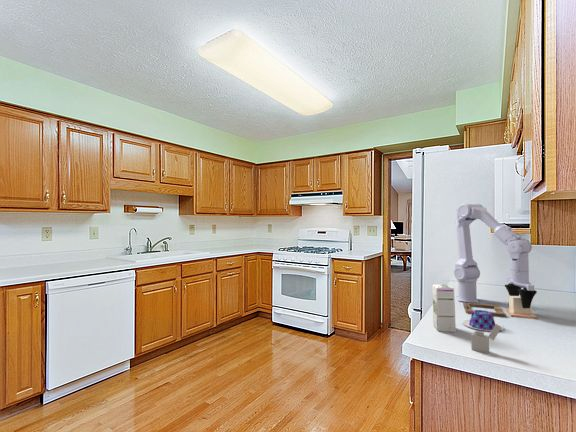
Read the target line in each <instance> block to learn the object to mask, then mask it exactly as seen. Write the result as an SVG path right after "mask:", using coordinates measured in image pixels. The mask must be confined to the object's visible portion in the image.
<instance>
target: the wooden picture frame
mask: <svg viewBox="0 0 576 432" xmlns="http://www.w3.org/2000/svg"><path fill="white" fill-rule="evenodd" d="M462 306H463V309H464V311H465V314H467V313H468V314H470V315H472V312H473V311H474V309H473V310H472V307H473V308H484V309H493V310H494V311H490V312H491V313H492V315H493V317H496V318H497V317H499V318H500V317H501V318H506V317H507V314H506V313H505V312H504V310H503V309H502V308H501V307H500V305H497V304H488V303H487V304H485V303H473V302H462ZM468 314H467V315H468Z"/></svg>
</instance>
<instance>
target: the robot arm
mask: <svg viewBox="0 0 576 432" xmlns="http://www.w3.org/2000/svg"><path fill="white" fill-rule="evenodd" d="M455 211H456V217H455V231H456V241H457V250H458V253H457V254H458V260H457V261H456V262H455V264H454V270H453V274H454V277H455V278H456V281H457V285H458V286H457V289H458V290H457V291H458V293H457V294H458V295H456V299H457V301H458V302H462V303H475V304H480V302H479V300H478V298H477V295H478V294H477V281H478V279H479V278H480V276H481V271H480V269H479V266H478V263H477V262H476V261H475V260H474V259H473V257H474V256H473V250H472V249H473V248H472V241H471V239H472V238H471V228H470V227H471V226H470V225H471V224H472V223H473V222H474V221H476V220H480V221H481V222H483V223H484V224H485V225H486V226H488V227H489V228H490V229H491V230H492V231H493V235H494V236H495V237H496V238H497V239H498V240H499V241H500V242H502V244H503V245H504V246H506V247H505V248H506V251H507V252H508V254H509V260H510V261H509V264H510V266H509V267H510V278H508V277H507V278H506V283H507V284H504V287H505V288H506V291H507V293H508V297H509V296H520V297H521V302H522V307H523V308H530V306H531V307H532V303H533V299H534V297H535V295H537V293H538V291H537V290H535V285H533V284H532V283H531V282H530V273H529V272H530V269H529V268H530V267H529V263H530V262H529V261H530V260H529V253H531V251H532V249H533V246H532V243H531V242H530V240H528V239H525V238H522V237H521V236H520V235H518V234H517V233H516V232H514V230H512V227H511V226H508V225H502V224H501V223H500V222H498V220H497V218H495V217H494V216H493V215H492V214H490V212H488V210H487V208H486V207H484V205H482V204H481V203H462V204H459V206H458V207H457V208H456V210H455Z"/></svg>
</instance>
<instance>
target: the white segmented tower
mask: <svg viewBox="0 0 576 432" xmlns="http://www.w3.org/2000/svg"><path fill="white" fill-rule="evenodd" d="M455 303H456V302H455V288H454V286H453V287H452V286H451V285H450V284H444V283H443V284H441V283H439V284H432V306H433V307H432V313H433V315H432V317H433V319H432V320H433V327H434V328H435V329H436V331H438V332H445V333H446V332H447V333H456V327H457V326H456V325H457V324H456V304H455Z"/></svg>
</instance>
